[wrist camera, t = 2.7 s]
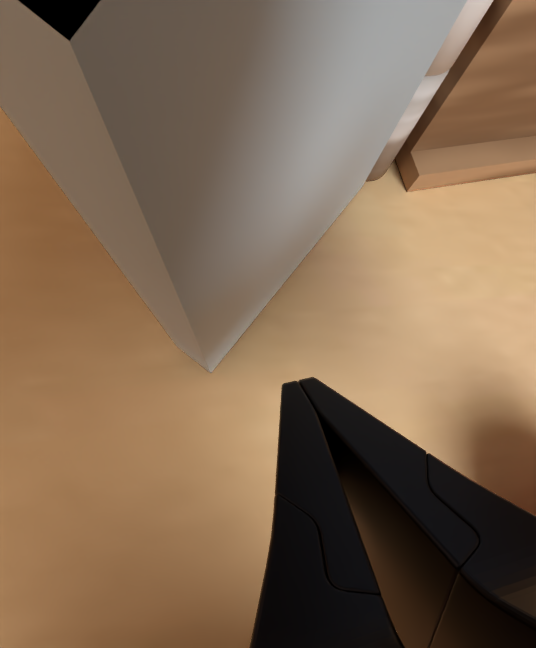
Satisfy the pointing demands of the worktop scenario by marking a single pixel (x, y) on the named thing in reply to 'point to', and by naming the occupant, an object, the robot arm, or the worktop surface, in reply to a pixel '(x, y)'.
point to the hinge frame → (473, 109)
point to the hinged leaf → (216, 131)
